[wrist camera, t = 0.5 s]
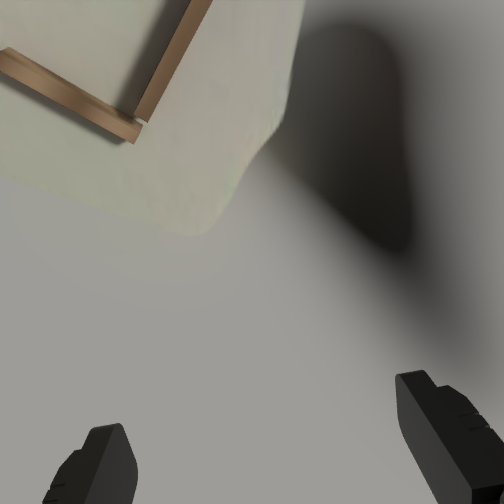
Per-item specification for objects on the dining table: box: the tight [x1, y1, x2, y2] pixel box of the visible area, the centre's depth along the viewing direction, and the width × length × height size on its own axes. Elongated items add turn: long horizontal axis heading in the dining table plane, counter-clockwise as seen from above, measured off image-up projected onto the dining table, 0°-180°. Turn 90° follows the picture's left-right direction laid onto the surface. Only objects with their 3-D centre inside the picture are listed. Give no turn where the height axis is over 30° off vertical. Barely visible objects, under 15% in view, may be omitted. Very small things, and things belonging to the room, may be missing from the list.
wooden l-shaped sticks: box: [0, 0, 213, 144], centre depth 27 cm, size 11×16×3 cm
